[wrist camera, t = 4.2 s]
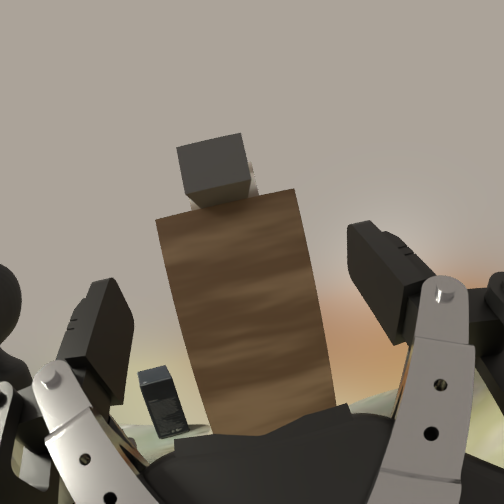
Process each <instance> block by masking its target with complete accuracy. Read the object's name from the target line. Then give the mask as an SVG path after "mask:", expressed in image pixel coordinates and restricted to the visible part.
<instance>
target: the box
mask: <svg viewBox="0 0 504 504" xmlns="http://www.w3.org/2000/svg"><path fill="white" fill-rule="evenodd" d="M137 374H138V378H139V384H140V388H141V392H142V395H143V397H144V400H145V403H146V405H147V408H148V411H149V414H150V416H151V419H152V422H153V424H154V427H155V429H156V432H157V434H158V437H159V439H162V438H165V437H169V436H173V435H177V434H180V433H184V432H187V431H189V427H188V424H187V421H186V418H185V416H184V412H183V410H182V406H181V404H180V400H179V398H178V395H177V391H176V388H175V386H174V382H173V379H172V377H171V375H170V373H169V371H168V369H167V367H166V366H165V365H164V366H160V367H156V368H153V369H149V370H144V371H140V372H138V373H137Z"/></svg>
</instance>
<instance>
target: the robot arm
mask: <svg viewBox="0 0 504 504" xmlns="http://www.w3.org/2000/svg"><path fill="white" fill-rule="evenodd" d="M347 264H348V271H349V274H350V277H351V279H352V281H353V283H354V284H355V286H356V287H357V289H358V290H359V292H360V293H361V295H362V296H363V298H364V300H365V301H366V303H367V304H368V306H369V307H370V309H371V310H372V312H373V313H374V315H375V317H376V318H377V320H378V321H379V323H380V325H381V326H382V328H383V330H384V331H385V333H386V334H387V336H388V338H389V339H390V341H391V342H392V344H393V345H394V346H395V345H398V344H400V343H403V342H406V343H407V345H408V346H409V348H408V352H407V356H406V361H405V365H404V369H403V373H402V378H401V382H400V385H399V389H398V393H397V397H396V400H395V404H394V407H393V410H392V413H391V416H390V418H389V417H385V416H381V415H376V414H367V413H355V414H351V412H350V409H349V407H348V404H347V403H345V404H342V405H339V406H335V407H332V408H329V409H325V410H322V411H318V412H315V413H311V414H307V415H304V416H302V417H300V418H298V419H296V420H294V421H292V422H290V423H288V424H286V425H284V426H282V427H280V428H278V429H276V430H274V431H272V432H270V433H267V434H265V435H261V436H247V435H225V434H211V435H204V436H197V437H189V438H181V439H174V450H175V451H173V452H171V453H168V454H166V455H164V456H162V457H160V458H159V459H157V460H155V461H154V462H153V463H151V464H149V463H148V462H147V461H146V460H145V459H144V457H143V456H142V455H141V454H140V453H139V452H138V450H137V449H136V448H135V447H134V445H133V444H132V443H131V441H130V440H129V439H128V437H127V436H126V435H125V434H124V432H123V431H122V429H121V428H120V427H119V425H118V424H117V423H116V421H115V420H114V418H113V417H112V416H111V415H110V414H109V411H110V406H114V405H123V401H124V393H125V385H126V377H127V371H128V364H129V357H130V351H131V345H132V339H133V333H134V319H133V316H132V313H131V310H130V308H129V307H128V304H127V302H126V301H125V298H124V296H123V294H122V292H121V290H120V288H119V286H118V284H117V282H116V280H115V279H113V278H108V279H104V280H99V281H95V282H92V284H91V286H90V288H89V291H88V293H87V296H86V298H84V299H82V300H81V302H80V303H79V304H78V305H77V307H76V308H75V309H74V311H73V314H72V316H71V319H70V322H69V324H68V327H67V331H66V332H65V335H64V338H63V340H62V343H61V346H60V349H59V351H58V354H57V358H56V360H55V361H51V362H49V363H47V364H46V365H44V366H43V367H42V368H41V369H40V370H39V371H38V372H37V373H36V375H35V377H34V380H32V377H31V374H30V372H29V369H28V367H27V365H26V364H25V363H24V362H23V361H22V360H20V359H17V358H15V357H13V356H10V355H9V354H7V353H6V352H5V351H3V350H2V349H1V348H0V504H72V503H74V502H75V503H76V504H504V469H503V468H501V467H498V466H496V465H493V464H491V463H489V462H486V461H484V460H481V459H479V458H477V457H474V456H472V455H470V454H467V453H465V449H466V443H467V437H468V431H469V424H470V416H471V408H472V398H473V386H474V370H475V368H476V369H477V371H478V372H479V374H480V376H481V377H482V379H483V381H484V382H485V384H486V386H487V387H488V389H489V391H490V392H491V394H492V396H493V398H494V399H495V401H496V403H497V405H498V406H499V408H500V410H501V412H502V414H503V416H504V272H497V273H494V274H493V275H492V276H491V277H490V279H489V283H488V286H487V288H475V289H466V287H465V286H464V285H463V283H461V282H460V281H459V280H457V279H455V278H452V277H449V276H437V275H436V274H435V273H434V272H433V271H432V270H431V269H430V268H429V267H428V266H427V265H426V264H425V263H424V262H423V261H422V260H421V259H420V258H419V257H418V256H417V255H416V254H414V252H413V251H412V250H411V249H410V248H409V247H407V245H406V244H405V243H404V242H403V241H402V240H401V239H400V238H399V237H397V236H395V235H393V234H391V233H389V232H387V231H384V232H381V231H380V230H379V229H378V228H377V227H376V226H375V225H374V224H373V223H372V222H371V221H370V220H368V221H364V222H359V223H354V224H350V225H348V227H347ZM21 303H22V298H21V290H20V286H19V283H18V281H17V278H16V277H15V275H14V274H13V273H12V272H11V271H10V270H9V269H8V268H7V267H5V266H3V265H1V264H0V344H1V343H2V342H3V341H4V340H5V339H6V338H7V337H8V336H9V335H10V333H11V332H12V331H13V329H14V328H15V326H16V324H17V322H18V319H19V316H20V311H21Z"/></svg>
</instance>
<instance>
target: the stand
mask: <svg viewBox="0 0 504 504" xmlns="http://www.w3.org/2000/svg"><path fill="white" fill-rule="evenodd" d="M248 166H249V170H250V175H251V184H250V189H249V194H248V198H246V199H241V200H236V201H232V202H227V203H223V204H219V205H214V206H210V207H206V208H200V207H198V206H197V205H196V204H195V203H194V202H193V201H192V200H191V199H190V198H189V200H190V204H191V209H192V211H189V212H184V213H180V214H177V215H172V216H169V217H164V218H160V219H156V220H155V221H156V226H157V231H158V235H159V240H160V245H161V249H162V254H163V258H164V263H165V268H166V271H167V276H168V280H169V284H170V289H171V293H172V296H173V301H174V305H175V309H176V312H177V316H178V320H179V324H180V327H181V331H182V335H183V339H184V342H185V346H186V349H187V353H188V356H189V359H190V363H191V366H192V369H193V373H194V376H195V380H196V382H197V386H198V389H199V392H200V396H201V398H202V402H203V405H204V408H205V411H206V414H207V417H208V420H209V423H210V426H211V429H212V431H213V434H225V435H247V436H261V435H265V434H267V433H270V432H272V431H274V430H276V429H278V428H280V427H282V426H284V425H286V424H288V423H290V422H292V421H294V420H296V419H298V418H300V417H302V416H304V415H307V414H311V413H315V412H318V411H322V410H325V409H329V408H332V407H335V406H336V400H335V393H334V387H333V380H332V374H331V368H330V362H329V356H328V350H327V344H326V339H325V333H324V328H323V322H322V317H321V311H320V306H319V301H318V296H317V291H316V286H315V281H314V276H313V271H312V266H311V261H310V257H309V252H308V247H307V242H306V238H305V233H304V229H303V225H302V220H301V216H300V211H299V207H298V203H297V198H296V194H295V190H294V189H289V190H284V191H279V192H275V193H269V194H264V195H260V196H259V194H258V189H257V185H256V181H255V176H254V172H253V168H252V163H251V162H248Z"/></svg>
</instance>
